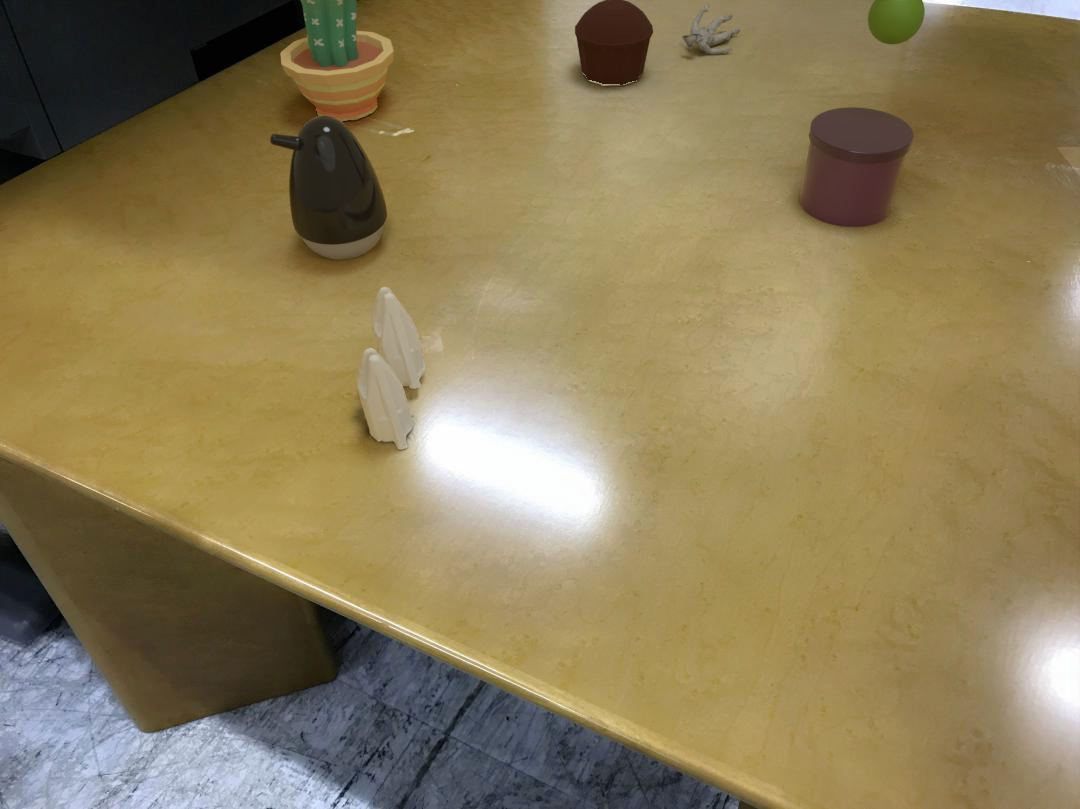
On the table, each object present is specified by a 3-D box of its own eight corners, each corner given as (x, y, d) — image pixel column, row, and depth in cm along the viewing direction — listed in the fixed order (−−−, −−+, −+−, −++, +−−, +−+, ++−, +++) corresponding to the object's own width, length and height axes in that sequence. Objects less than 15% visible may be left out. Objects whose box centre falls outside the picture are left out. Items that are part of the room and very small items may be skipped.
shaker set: (389, 358, 86) (371, 262, 79) (432, 360, 86) (418, 263, 78) (361, 448, 78) (337, 350, 70) (408, 450, 77) (390, 352, 70)
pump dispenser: (292, 232, 103) (261, 106, 93) (381, 214, 105) (360, 89, 95) (305, 281, 96) (273, 150, 86) (400, 261, 98) (380, 131, 88)
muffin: (575, 58, 137) (575, -11, 130) (648, 57, 136) (652, -12, 130) (574, 92, 128) (574, 20, 121) (652, 91, 128) (656, 19, 121)
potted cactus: (408, 83, 132) (383, -107, 115) (393, 132, 121) (364, -71, 104) (304, 85, 132) (264, -104, 115) (280, 134, 121) (231, -68, 104)
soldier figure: (750, 47, 141) (722, 48, 132) (724, 65, 144) (695, 67, 134) (726, 2, 141) (697, 0, 131) (701, 21, 144) (671, 21, 134)
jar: (883, 195, 106) (907, 109, 98) (894, 245, 98) (920, 156, 91) (791, 190, 107) (807, 104, 100) (795, 239, 100) (813, 150, 92)
